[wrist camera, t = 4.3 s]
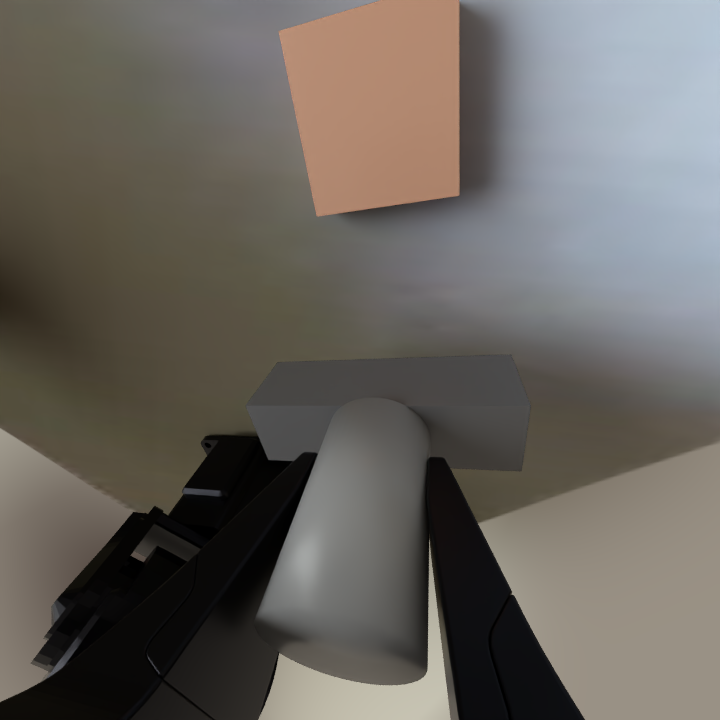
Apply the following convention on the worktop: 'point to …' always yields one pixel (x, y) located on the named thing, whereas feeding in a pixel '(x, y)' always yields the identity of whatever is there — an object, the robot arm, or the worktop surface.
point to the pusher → (374, 498)
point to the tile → (378, 103)
